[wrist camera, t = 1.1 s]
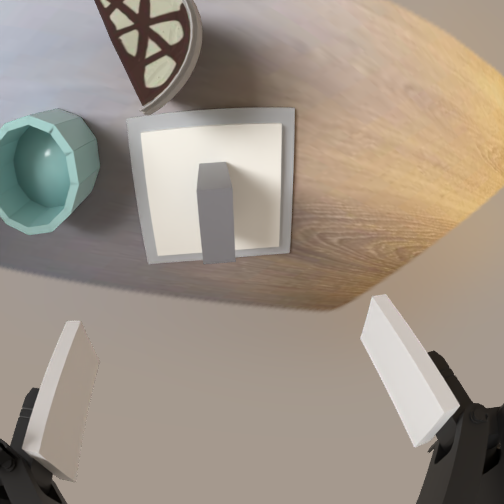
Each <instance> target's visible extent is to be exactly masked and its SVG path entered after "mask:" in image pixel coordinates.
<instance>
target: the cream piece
mask: <svg viewBox="0 0 504 504" xmlns="http://www.w3.org/2000/svg"><path fill="white" fill-rule="evenodd" d="M141 143H142V152H143V161H144V170H145V178H146V186H147V193H148V200H149V207H150V213H151V220H152V226H153V232H154V238H155V244H156V249H157V255H158V256H165V255H178V254H190V253H202V255H203V264H214V263H227V262H236V260H235V250H242V249H255V248H268V247H279V233H280V198H281V146H282V124H281V123H237V124H217V125H202V126H189V127H179V128H169V129H160V130H151V131H144V132H141Z"/></svg>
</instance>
